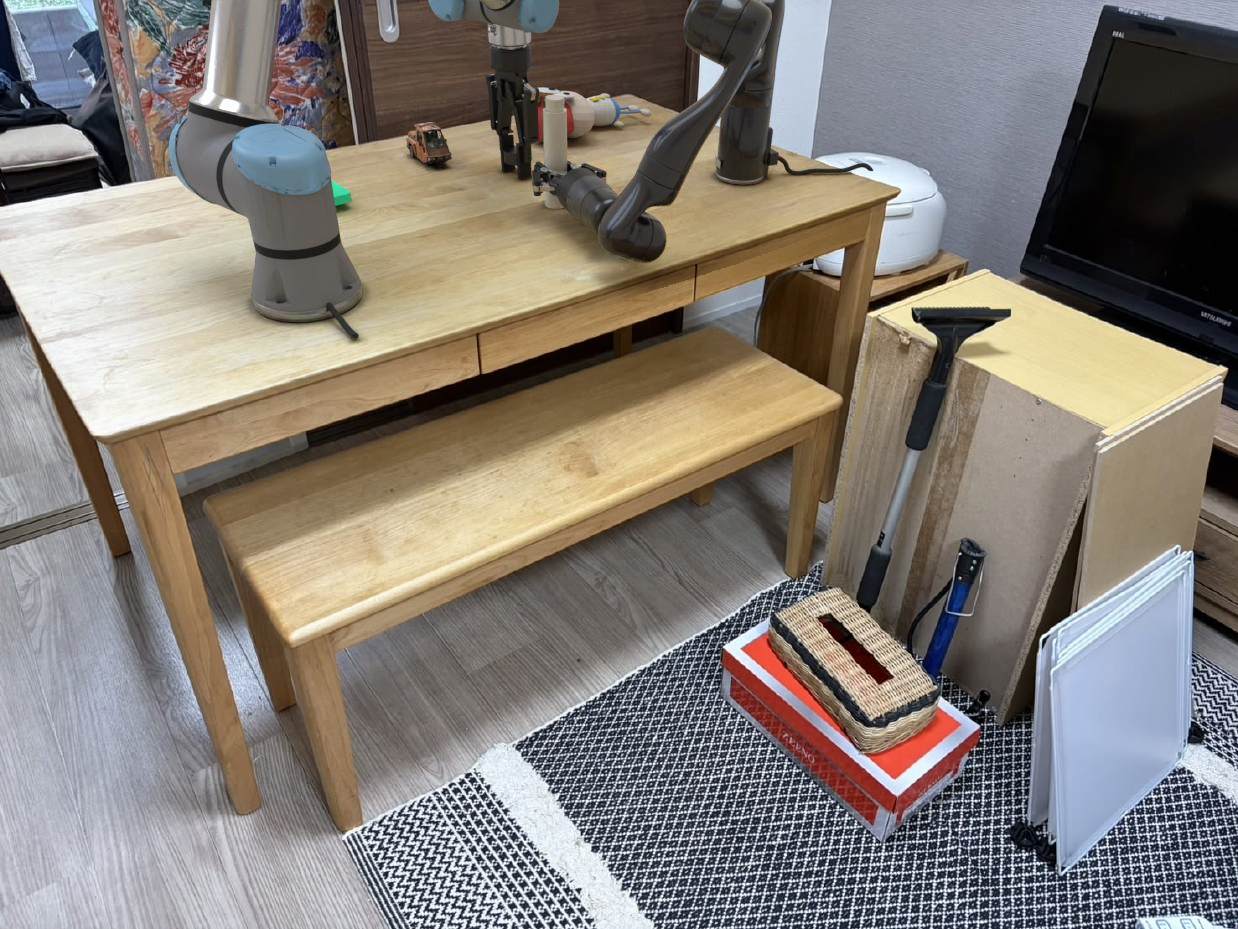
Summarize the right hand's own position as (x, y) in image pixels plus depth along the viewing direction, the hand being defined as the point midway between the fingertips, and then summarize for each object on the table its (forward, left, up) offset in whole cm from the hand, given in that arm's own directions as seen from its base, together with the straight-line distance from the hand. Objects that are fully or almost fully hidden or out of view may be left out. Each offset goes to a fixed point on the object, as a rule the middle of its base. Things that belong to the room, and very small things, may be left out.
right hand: (549, 165), depth 165 cm
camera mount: (+39, -13, -6) cm, 42 cm away
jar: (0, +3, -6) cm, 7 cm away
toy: (-22, -34, -6) cm, 41 cm away
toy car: (+14, -28, -6) cm, 32 cm away
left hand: (+1, -14, -6) cm, 16 cm away
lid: (+1, -14, -2) cm, 15 cm away
